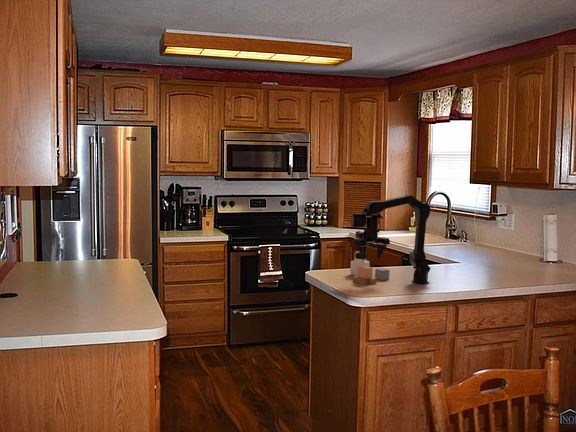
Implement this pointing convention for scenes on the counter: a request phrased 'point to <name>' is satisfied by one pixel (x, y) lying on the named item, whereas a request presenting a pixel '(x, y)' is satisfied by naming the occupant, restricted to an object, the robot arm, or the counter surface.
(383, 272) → the grey cube
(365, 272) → the terracotta cube
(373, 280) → the walnut slab
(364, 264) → the medicine bottle
